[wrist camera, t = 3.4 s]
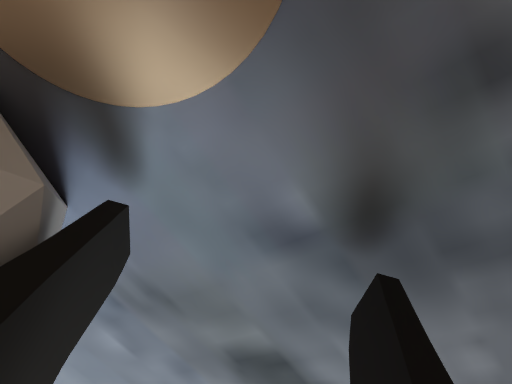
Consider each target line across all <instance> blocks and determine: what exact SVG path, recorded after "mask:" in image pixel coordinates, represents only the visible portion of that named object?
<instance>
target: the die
mask: <svg viewBox="0 0 512 384" xmlns="http://www.w3.org/2000/svg"><path fill="white" fill-rule="evenodd" d="M66 211H67V206H66V204H65V203H64V201H63V200H62V199H61V197H60V196H59V194H58V193H57V192H56V190H55V189H54V187H53V186H52V185H51V183H50V182H49V180H48V179H47V178H46V176H45V175H44V173H43V172H42V171H41V169H40V168H39V166H38V165H37V164H36V162H35V161H34V159H33V158H32V157H31V155H30V154H29V152H28V151H27V150H26V148H25V147H24V145H23V144H22V143H21V141H20V140H19V138H18V137H17V136H16V134H15V133H14V131H13V130H12V129H11V127H10V126H9V124H8V123H7V122H6V120H5V119H4V117H3V116H2V115H1V113H0V266H2V265H4V264H5V263H7V262H9V261H11V260H12V259H14V258H16V257H18V256H19V255H21V254H23V253H25V252H26V251H28V250H30V249H32V248H33V247H35V246H37V245H38V244H40V243H41V242H43V241H45V240H46V239H48V238H49V237H51V236H53V235H54V234H56V233H57V232H59V231H61V228H62V225H63V221H64V218H65V214H66Z"/></svg>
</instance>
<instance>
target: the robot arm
mask: <svg viewBox="0 0 512 384" xmlns="http://www.w3.org/2000/svg"><path fill="white" fill-rule="evenodd" d="M129 255H130V231H129V205H125V204H121V203H118V202H114V201H110V200H107V201H105V202H104V203H102V204H101V205H99V206H97V207H96V208H94V209H93V210H91V211H90V212H88V213H87V214H85V215H84V216H82V217H81V218H79V219H78V220H76V221H75V222H73V223H72V224H70V225H68V226H67V227H65V228H64V229H62V230H61V231H59V232H57V233H56V234H54V235H53V236H51V237H49V238H48V239H46V240H45V241H43V242H41V243H40V244H38V245H37V246H35V247H33V248H32V249H30V250H28V251H26V252H25V253H23V254H21V255H19V256H18V257H16V258H14V259H12V260H11V261H9V262H7V263H5V264H4V265H2V266H0V384H53V383H54V381H55V379H56V377H57V375H58V374H59V372H60V370H61V368H62V366H63V365H64V363H65V361H66V360H67V358H68V356H69V355H70V353H71V352H72V350H73V349H74V347H75V346H76V344H77V342H78V341H79V339H80V338H81V336H82V335H83V333H84V332H85V330H86V329H87V327H88V326H89V324H90V323H91V321H92V320H93V318H94V317H95V315H96V313H97V312H98V310H99V309H100V307H101V306H102V304H103V303H104V301H105V300H106V298H107V297H108V295H109V293H110V292H111V290H112V289H113V287H114V286H115V284H116V282H117V280H118V278H119V276H120V274H121V272H122V270H123V268H124V266H125V264H126V262H127V259H128V257H129ZM349 366H350V384H454V383H453V381H452V380H451V378H450V376H449V374H448V373H447V371H446V369H445V367H444V366H443V364H442V362H441V360H440V358H439V356H438V355H437V353H436V351H435V349H434V347H433V345H432V344H431V342H430V340H429V338H428V336H427V334H426V332H425V330H424V328H423V326H422V324H421V322H420V320H419V318H418V316H417V315H416V313H415V310H414V308H413V306H412V304H411V302H410V300H409V298H408V296H407V294H406V292H405V290H404V288H403V286H402V284H401V283H400V281H399V279H396V278H393V277H389V276H385V275H382V274H378V273H377V274H376V276H375V278H374V279H373V281H372V283H371V284H370V286H369V287H368V289H367V291H366V292H365V294H364V295H363V297H362V299H361V300H360V302H359V303H358V305H357V307H356V308H355V310H354V312H353V313H352V315H351V326H350V340H349Z"/></svg>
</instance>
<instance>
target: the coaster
mask: <svg viewBox="0 0 512 384" xmlns="http://www.w3.org/2000/svg"><path fill="white" fill-rule="evenodd" d="M281 2H282V0H0V48H1V49H2V50H4V51H5V52H6V53H7V54H8V55H10V56H11V57H12V58H13V59H14V60H16V61H17V62H19V63H20V64H22V65H23V66H25V67H26V68H27V69H29V70H30V71H32V72H33V73H35V74H36V75H38V76H40V77H41V78H43V79H45V80H47V81H48V82H50V83H52V84H54V85H56V86H58V87H60V88H62V89H64V90H67V91H69V92H71V93H73V94H76V95H78V96H81V97H84V98H88V99H91V100H94V101H97V102H102V103H107V104H111V105H116V106H128V107H150V106H160V105H165V104H170V103H175V102H179V101H182V100H184V99H187V98H190V97H193V96H196V95H198V94H199V93H201V92H203V91H205V90H207V89H209V88H211V87H212V86H214V85H216V84H217V83H218V82H220V81H221V80H222V79H224V78H225V77H226V76H228V75H229V74H230V73H232V72H233V71H234V70H235V69H236V68H237V67H238V66H239V65H240V64H241V63H242V62H243V61H244V60H245V59H246V58H247V57H248V56H249V54H250V53H251V52H252V50H253V49H254V48H255V46H256V45H257V44H258V42H259V41H260V40H261V38H262V37H263V36H264V34H265V32H266V31H267V29H268V27H269V25H270V23H271V22H272V20H273V18H274V16H275V15H276V13H277V11H278V9H279V7H280V4H281Z"/></svg>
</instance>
